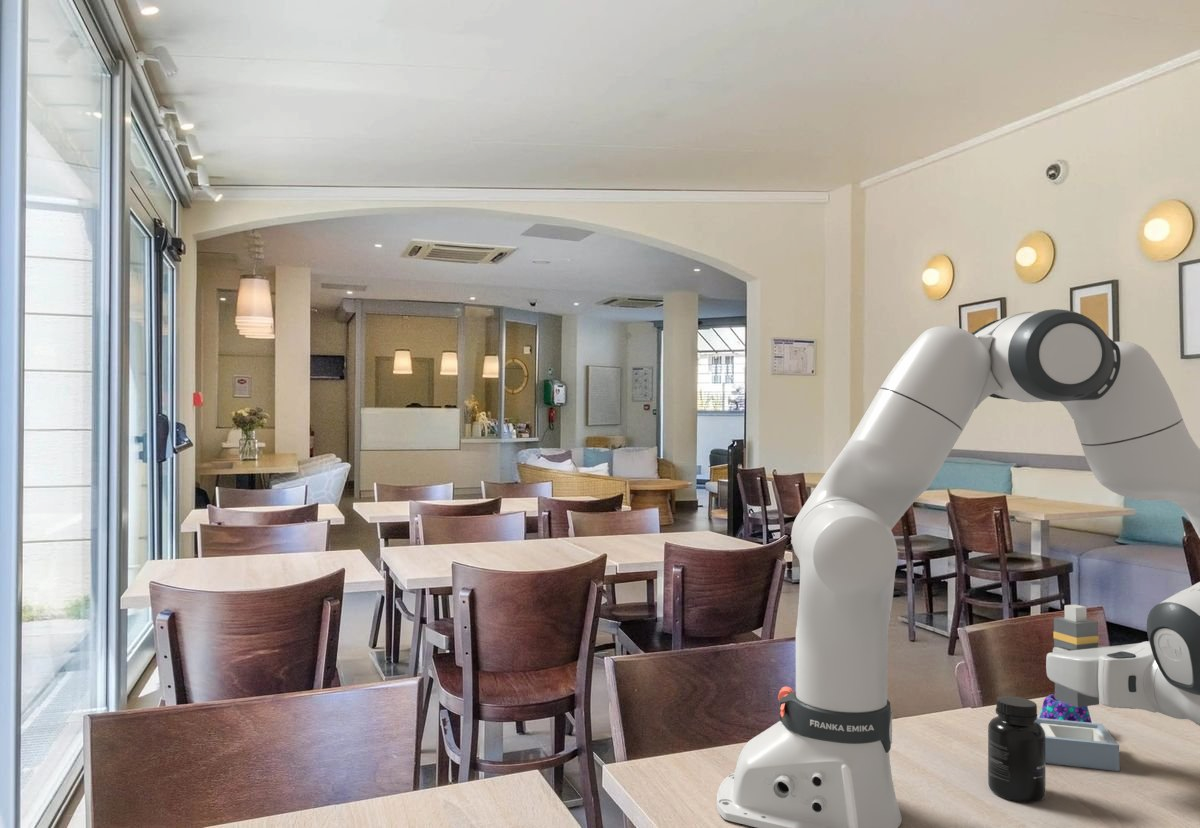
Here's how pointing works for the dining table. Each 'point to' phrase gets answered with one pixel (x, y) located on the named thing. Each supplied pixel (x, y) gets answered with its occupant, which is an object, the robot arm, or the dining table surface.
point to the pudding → (1063, 711)
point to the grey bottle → (1075, 647)
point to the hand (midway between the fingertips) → (1070, 650)
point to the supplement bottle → (1016, 751)
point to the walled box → (1079, 744)
